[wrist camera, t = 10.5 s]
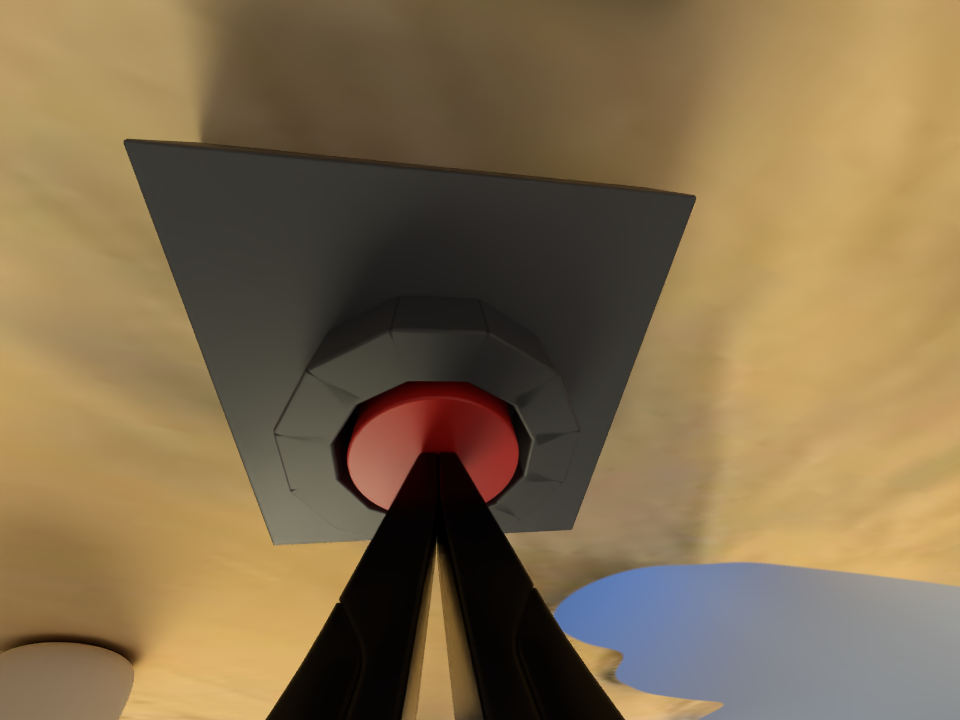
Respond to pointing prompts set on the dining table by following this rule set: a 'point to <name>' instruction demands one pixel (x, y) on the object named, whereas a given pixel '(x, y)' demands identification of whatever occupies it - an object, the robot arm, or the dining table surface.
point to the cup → (63, 682)
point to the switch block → (405, 311)
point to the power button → (431, 437)
